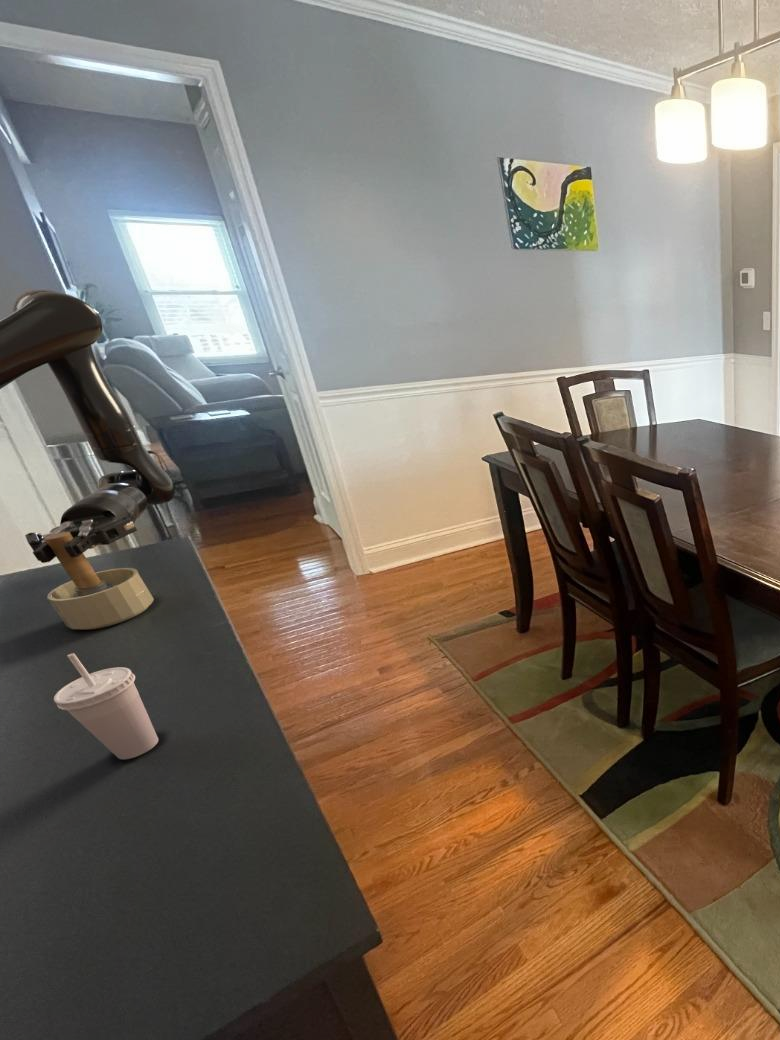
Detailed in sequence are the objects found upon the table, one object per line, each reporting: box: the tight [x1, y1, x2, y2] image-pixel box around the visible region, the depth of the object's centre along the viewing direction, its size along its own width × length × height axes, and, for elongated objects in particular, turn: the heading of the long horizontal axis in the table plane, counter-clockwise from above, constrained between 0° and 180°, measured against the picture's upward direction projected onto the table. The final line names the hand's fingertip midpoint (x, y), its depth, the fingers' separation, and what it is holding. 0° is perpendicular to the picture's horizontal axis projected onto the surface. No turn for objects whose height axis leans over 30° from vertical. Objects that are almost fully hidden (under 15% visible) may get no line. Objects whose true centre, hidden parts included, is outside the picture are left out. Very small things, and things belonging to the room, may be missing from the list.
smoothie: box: [53, 652, 159, 760], centre depth 68 cm, size 6×6×14 cm
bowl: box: [46, 567, 155, 631], centre depth 98 cm, size 11×11×6 cm
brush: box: [45, 532, 113, 598], centre depth 96 cm, size 5×5×14 cm
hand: (56, 554), depth 92 cm, fingers closed on brush, 3 cm apart
